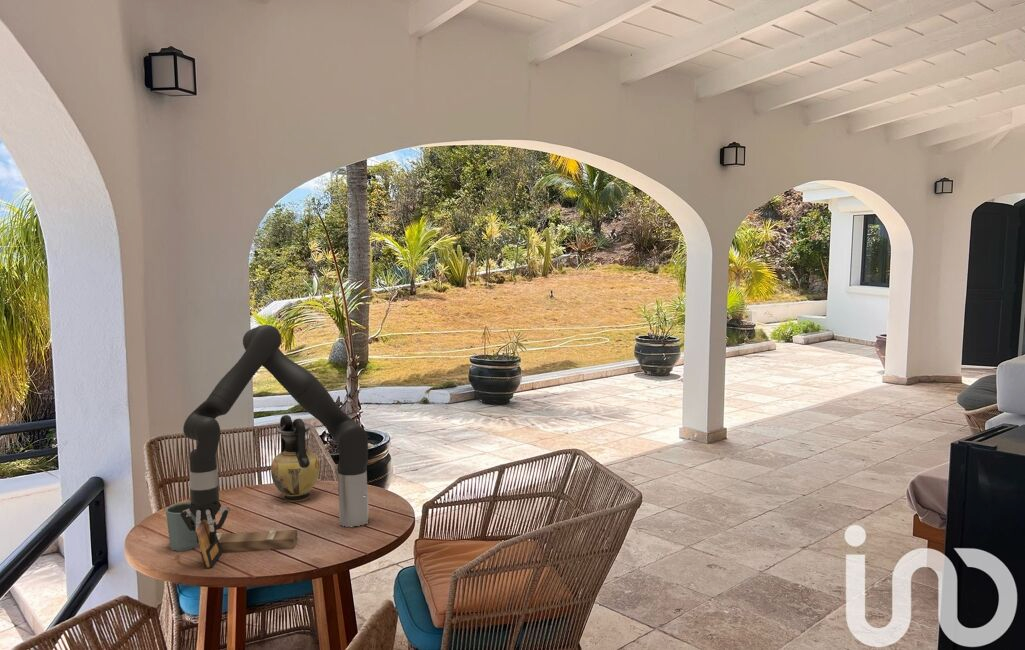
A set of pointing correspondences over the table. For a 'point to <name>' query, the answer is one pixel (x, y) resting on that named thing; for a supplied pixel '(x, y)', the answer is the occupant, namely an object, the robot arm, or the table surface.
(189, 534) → the grey-green cup
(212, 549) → the ammunition clip
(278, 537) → the plank
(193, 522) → the robot arm
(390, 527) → the table surface
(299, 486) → the amphora
